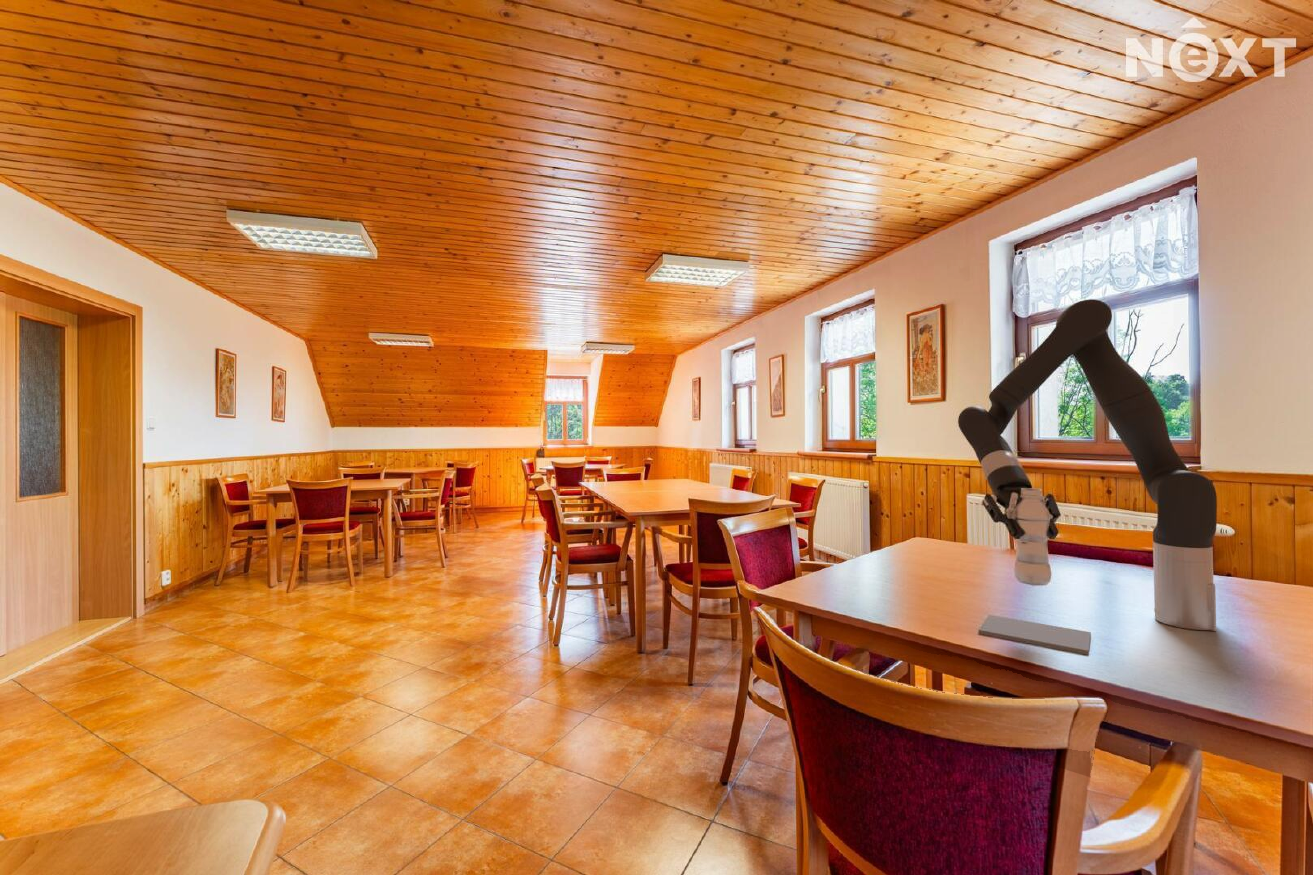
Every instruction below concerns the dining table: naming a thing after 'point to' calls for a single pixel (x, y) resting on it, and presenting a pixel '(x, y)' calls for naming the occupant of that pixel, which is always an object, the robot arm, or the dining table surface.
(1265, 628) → the dining table surface
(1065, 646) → the grey rubber mat
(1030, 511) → the plastic bottle
